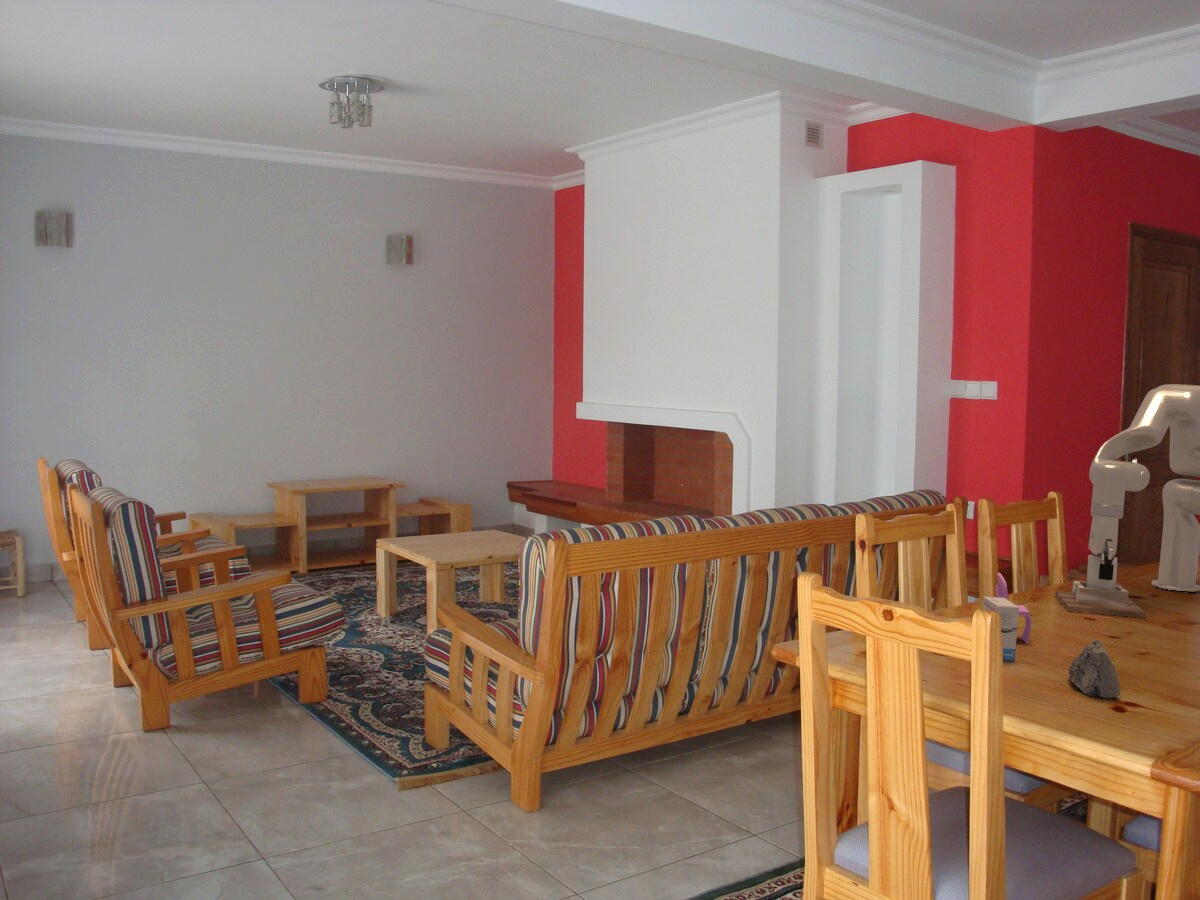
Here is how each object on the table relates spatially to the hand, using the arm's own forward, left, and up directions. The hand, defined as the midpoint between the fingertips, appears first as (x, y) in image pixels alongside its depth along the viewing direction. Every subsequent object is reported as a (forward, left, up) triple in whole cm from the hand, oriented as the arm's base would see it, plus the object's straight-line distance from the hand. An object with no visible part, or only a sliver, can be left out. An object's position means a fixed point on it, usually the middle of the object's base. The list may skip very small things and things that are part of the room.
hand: (1101, 575), depth 270 cm
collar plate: (0, 0, -8) cm, 8 cm away
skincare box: (0, 0, -7) cm, 7 cm away
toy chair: (+44, -28, -9) cm, 53 cm away
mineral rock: (+76, -16, -9) cm, 78 cm away
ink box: (+59, -32, -9) cm, 68 cm away
